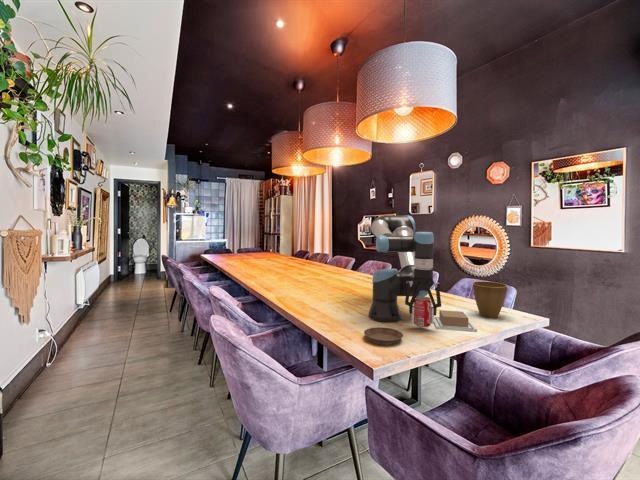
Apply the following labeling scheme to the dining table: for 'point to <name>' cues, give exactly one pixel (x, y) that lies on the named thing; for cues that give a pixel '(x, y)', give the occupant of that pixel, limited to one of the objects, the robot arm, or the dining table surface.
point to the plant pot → (489, 297)
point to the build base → (453, 321)
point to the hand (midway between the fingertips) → (422, 321)
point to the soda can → (422, 311)
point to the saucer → (383, 335)
